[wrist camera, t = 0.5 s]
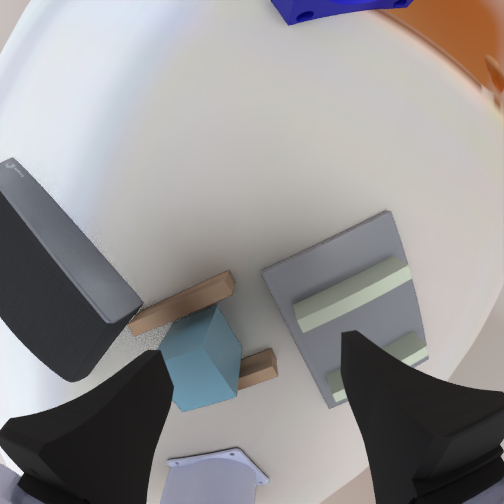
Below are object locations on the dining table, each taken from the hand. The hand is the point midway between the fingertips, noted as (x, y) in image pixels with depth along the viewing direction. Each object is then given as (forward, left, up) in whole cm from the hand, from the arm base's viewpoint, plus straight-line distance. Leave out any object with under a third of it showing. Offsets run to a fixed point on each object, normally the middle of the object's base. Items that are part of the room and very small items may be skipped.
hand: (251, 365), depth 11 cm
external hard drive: (-17, +9, -11) cm, 22 cm away
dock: (+6, -6, -10) cm, 13 cm away
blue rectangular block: (-5, -2, -10) cm, 11 cm away
